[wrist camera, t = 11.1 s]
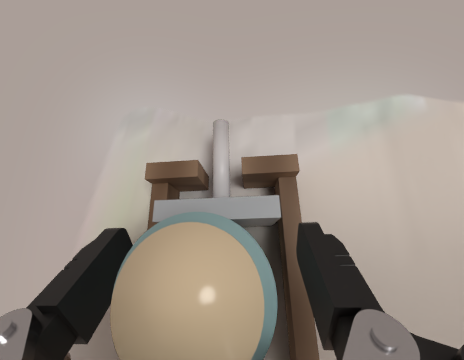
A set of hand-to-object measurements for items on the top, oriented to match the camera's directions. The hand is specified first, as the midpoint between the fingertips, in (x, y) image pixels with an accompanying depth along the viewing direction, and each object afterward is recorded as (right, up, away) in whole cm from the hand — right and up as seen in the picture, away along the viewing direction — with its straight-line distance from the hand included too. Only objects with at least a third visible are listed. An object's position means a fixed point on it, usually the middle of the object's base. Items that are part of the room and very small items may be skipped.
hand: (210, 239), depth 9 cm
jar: (+1, -4, +6) cm, 7 cm away
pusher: (0, +3, +7) cm, 8 cm away
